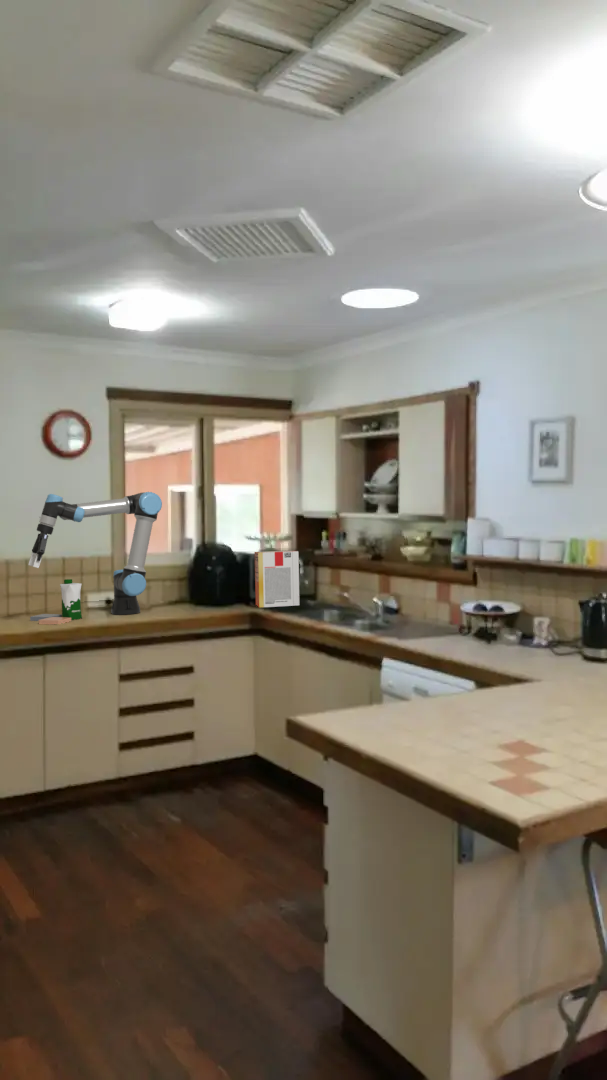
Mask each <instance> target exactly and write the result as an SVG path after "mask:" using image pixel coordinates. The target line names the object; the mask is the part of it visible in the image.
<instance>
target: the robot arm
mask: <svg viewBox="0 0 607 1080" xmlns="http://www.w3.org/2000/svg"><path fill="white" fill-rule="evenodd" d="M45 499H46V500H45V501H44V505H43V508H42V512H41V515H40V516H38V517H39V523H38V525H37V526H36V531H37V532H40V533H38V534H37V538H36V540H35V541H34V544H33V547H32V549H31V554H30V557H29V560H28V564H27V566H30V567H33V568H37V569H40V568H39V567H40V565H41V562H42V558H43V555H44V554H45V551H46V546H47V542H48V539H49V535H51V536H52V534H53V532H54V530H55V529H54V527H55V526H56V522H57V520H58V517H59V518H60V519H61V520H63V521H73V522H77V523H81V522H82V521H83V519H85V518H92V517H99V516H100V517H101V516H110V515H118V514H124V513H125V514H126V515H134V517H135V519H136V521H135V525H134V529H133V534H132V541H131V544H130V545H131V546H130V550H129V555H128V560H127V565H125V566H124V567H123V569H116V570H114V571H113V575H112V578H113V601H112V605H111V609H110V613H112V614H111V615H134V614H139V613H141V607H140V605H139V602H138V601H139V600H138V598H137V596H139V595H141V594H142V593H144V591H145V590H146V587H147V580H146V574H147V571H146V569H145V564H146V560H147V559H146V558H147V555H148V549H149V546H150V545H149V544H150V539H151V534H152V529H153V524H154V523H155V522H156V521H157V518H158V516H159V515H158V514H159V513H160V511H161V510H162V508H163V501H162V499H161V497H160V495H158V494H156V493H155V492H152V491H146V492H138V493H136V494H132V495H126V496H123V498H115V499H107V500H100V501H99V500H98V501H91V502H89V501H88V502H80V503H76V504H75V503H72V504H71V503H67V502H65V501H63V499H64V498H63V497H62V496H60V495H57V494H54V493H49V494H48V495H47V497H46V498H45Z"/></svg>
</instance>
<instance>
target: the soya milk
mask: <svg viewBox="0 0 607 1080" xmlns="http://www.w3.org/2000/svg"><path fill="white" fill-rule="evenodd" d="M82 584H83V583H78V582H73V579H70V578H67V579H63V583H59V587H60V592H61V614H62V617H71V621H75V620H74V619H76V620H81V619H80V618H82V619H83V616H82V607H81V605H82V604H81V603H82V601H81V599H82V598H81V590H82V589H81V588H82Z"/></svg>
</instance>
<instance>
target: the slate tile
mask: <svg viewBox="0 0 607 1080" xmlns="http://www.w3.org/2000/svg"><path fill="white" fill-rule="evenodd" d="M50 617H62V613H61V614H57V613H41V614H36V615H32V616H30V617H29V618H30V619H29V620H30V621H31V622H32V621H34V622H39V620H41V619H45V618H50Z"/></svg>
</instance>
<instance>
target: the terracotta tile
mask: <svg viewBox="0 0 607 1080" xmlns="http://www.w3.org/2000/svg"><path fill="white" fill-rule="evenodd" d="M69 621H71V622H72V620H71V617H50V618H45V619H41V620H39V621H38V624H39V625H54V624H59V625H62V624H61V623H63V624H66V623H65V622H67V623H70V622H69Z"/></svg>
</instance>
